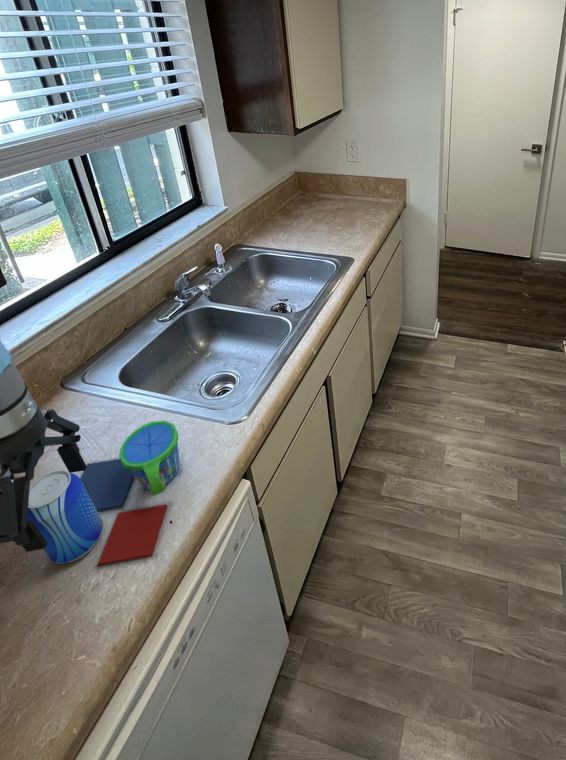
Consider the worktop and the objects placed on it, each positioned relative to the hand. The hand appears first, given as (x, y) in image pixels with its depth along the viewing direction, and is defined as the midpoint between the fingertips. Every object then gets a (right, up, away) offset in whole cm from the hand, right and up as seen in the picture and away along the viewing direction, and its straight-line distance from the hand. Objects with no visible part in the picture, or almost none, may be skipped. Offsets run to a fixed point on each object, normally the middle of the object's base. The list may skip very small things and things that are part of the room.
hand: (59, 505), depth 77 cm
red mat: (+10, -9, +6) cm, 15 cm away
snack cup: (+9, -4, +17) cm, 19 cm away
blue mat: (-2, -5, +14) cm, 15 cm away
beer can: (0, -10, +5) cm, 11 cm away
